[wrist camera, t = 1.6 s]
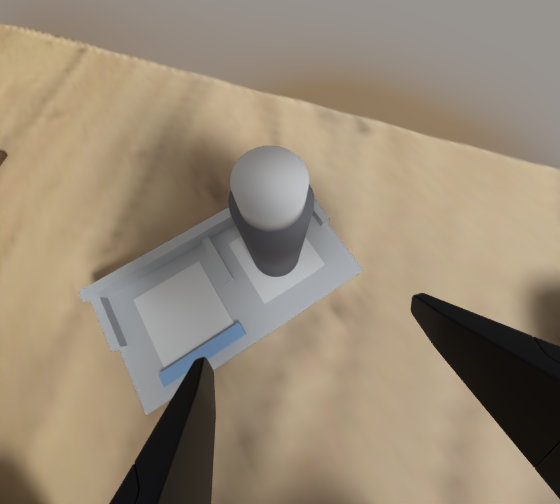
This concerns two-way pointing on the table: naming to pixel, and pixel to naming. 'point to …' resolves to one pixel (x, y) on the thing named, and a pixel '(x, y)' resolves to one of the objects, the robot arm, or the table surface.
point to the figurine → (2, 157)
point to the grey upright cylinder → (271, 207)
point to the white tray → (207, 300)
